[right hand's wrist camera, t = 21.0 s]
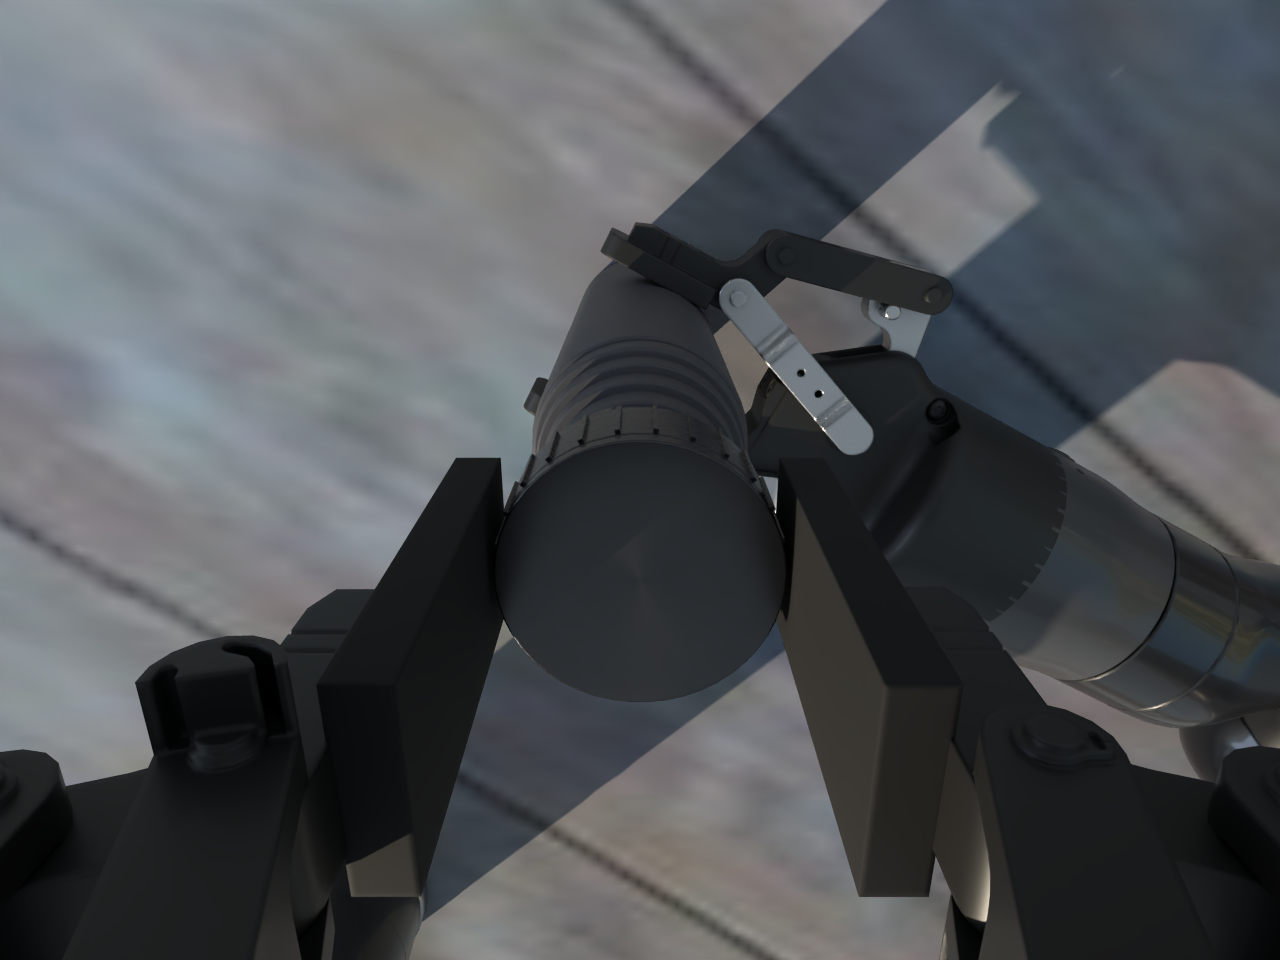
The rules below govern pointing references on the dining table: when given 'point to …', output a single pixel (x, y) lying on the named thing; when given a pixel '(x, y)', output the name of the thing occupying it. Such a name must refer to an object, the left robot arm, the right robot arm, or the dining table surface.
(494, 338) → the dining table surface
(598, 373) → the bottle
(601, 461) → the cap
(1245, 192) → the dining table surface
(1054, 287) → the dining table surface
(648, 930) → the dining table surface
